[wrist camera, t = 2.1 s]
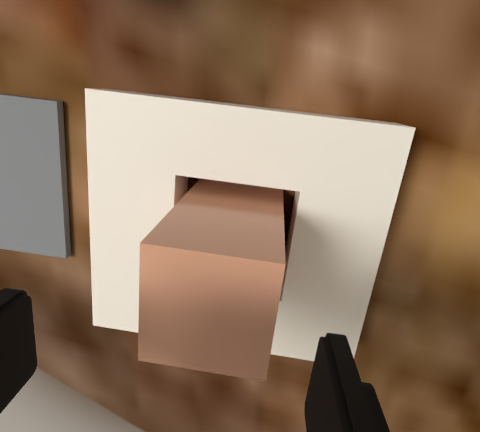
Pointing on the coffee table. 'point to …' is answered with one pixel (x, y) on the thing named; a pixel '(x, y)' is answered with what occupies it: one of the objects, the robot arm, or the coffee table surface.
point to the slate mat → (33, 177)
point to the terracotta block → (213, 280)
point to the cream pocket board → (251, 173)
